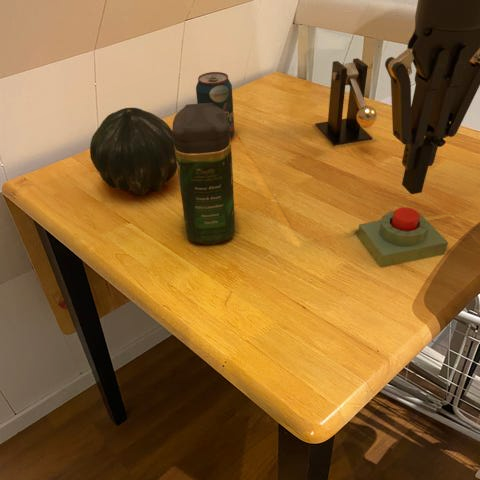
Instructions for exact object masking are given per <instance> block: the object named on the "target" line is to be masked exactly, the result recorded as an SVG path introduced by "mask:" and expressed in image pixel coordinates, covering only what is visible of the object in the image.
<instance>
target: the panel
mask: <svg viewBox="0 0 480 480" xmlns="http://www.w3.org/2000/svg"><path fill="white" fill-rule="evenodd" d="M394 211H395V210H392V211H391V210H390V211H388V212H386V213H384V215H382V216H381V219H380V220H373V221H370V222H369V221H368V222H365V223H359V224H358V229H357V230H358V231H357V238H358V239H359V240H360V241H361V244H362V245H363V246H364V247H365V249H366V250H367V252H369V254H370V256H372V258H373V259H374V261H375V262H376V264H377V265H378V266H379V267H380V268H385V267H390V266H396V265H399V264H405V263H408V262H409V263H410V262H414V261H418V260H423V259H428V258H433V257H437V256H442V255H445V253H446V251H447V247H448V244H449V242H448V241H447V239H446V238H444V236H443V235H442V234H441V233H440V232H439V231H438V230H437V229H436V228H435V227H434V226H433V224H431V223H430V221H429V220H427V219H426V217H425V216H424V215H423V214H422V213H421V212H418V213H419V215H420V218H419V222H418V226H417V228H416V229H415V230H412V231H401V230H398V229H396V228H394V227H393V226H392V218H393V213H394Z"/></svg>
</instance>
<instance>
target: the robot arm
mask: <svg viewBox="0 0 480 480" xmlns="http://www.w3.org/2000/svg"><path fill="white" fill-rule="evenodd" d="M412 64H413V66H414V68H415V75H414V83H415V87H414V91H413V96H412V82H411V78H410V75H412V73H413V69H412ZM384 67H385V69H386V71H387V73H388V76H389V78H390V94H391V95H390V97H391V118H392V119H391V120H392V135H393V137H394V138H396V139H397V140H398V141H399V142H400V143H401V144H402V145H404V149H403V155H402V159H401V164H402V166H403V167H404V172H403V177H402V180H401V181H402V182H401V186H403V188H404V189H405V190H406V191H407V192H408V193H409V194H410V195H416V194H422V192H423V189H424V186H425V185H424V184H425V181H426V177H427V173H428V169H429V167H432V166H433V165H434V163H435V159H436V155H437V152H438V148H441V147H443V146H445V144H446V142H447V141H446V140H445V138H447V137H449V138H453V137H455V136H456V134H457V133H458V131H459V129H460V127H461V125H462V124H463V123H462V122H463V121H464V119H465V117H466V114H467V113H468V111H469V109H470V106H471V105H472V102H473V100H474V98H475V96H476V94H477V92H478V90H479V88H480V0H417V4H416V10H415V14H414V30H413V33H412V35H411V37H410V38H409V40H408V42H407V48H406V49H405V50H404V51H403V52H401V54H399V55H398V56H397V57H396V58H395V57H393V56H390V57H388V58H387V59H386V60H385V63H384Z"/></svg>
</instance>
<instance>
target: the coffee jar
mask: <svg viewBox="0 0 480 480" xmlns="http://www.w3.org/2000/svg"><path fill="white" fill-rule="evenodd" d="M171 130H172V134H173V138H174V147H175V155H176V162H177V176H178V183H179V188H180V195H181V196H180V197H181V202H182V203H181V204H182V211H183V219H184V220H183V221H184V224H185V225H184V226H185V233H186V236H187V238H188V240H190V241H191V242H193V243H196V244H202V245H215V244H219V243H223V242H225V241H228V240H230V239H231V238H233V236H234V234H235V229H236V219H235V198H234V172H233V171H234V169H233V154H232V140H230V128H229V122H228V118H227V115H226V113H225V112H224V111H223V110H222V109H221V108H219V107H217V106H215V104H213V103H202V104H197V103H189V104H186V105H185V106H184V107H183V108H181V109H180V110H179V111H178V112H177V113H176V114H175V116H174V117H173V121H172V128H171Z"/></svg>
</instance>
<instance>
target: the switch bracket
mask: <svg viewBox="0 0 480 480" xmlns="http://www.w3.org/2000/svg"><path fill="white" fill-rule="evenodd" d="M353 62H354V63H355V66H356V68H357V71H358V73H359V75H358V77H357V80H356V81H357V83H358V86H359V88H360V91H361V93H362V96H363V98H364V99H365V91H366V86H367V85H366V84H367V75H368V69H369V65H368V64H366V62H364V61H362V60H361V59H360V58H359V57H357V58H353V59H352V63H353ZM346 75H347V68H346V67H345V66H343V63H341V62H340V61H338V60H335V61H334V60H333V61H332V68H331V77H330V78H331V80H330V90H329V103H328V116H327V121H322V122H317V123H316V122H315V126H316V128H317V129H318V130H319V131H320V132H321V133H322V135H323V136H324V137H325V138H326V139H327V140H328V142H330V143H331V145H332V146H333V147H335V146H343V145H348V144H354V143H360V142H365V141H371V140H373V137H372V136H371V135H370V134H369V133H368V132H367V131H366V130H365V129H364V127H361V126H360V125H359V124H358V123H357V120H356V116H357V113H358V111H359V108H358V105H357V103H356V100H355V98H354V96H353V93H352V91H351V88H350V87H349V93H348V104H347V109H346V111H347V112H346V118H343V115H344V113H343V112H344V104H345V103H344V102H345V95H346V86H347V85H346Z"/></svg>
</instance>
